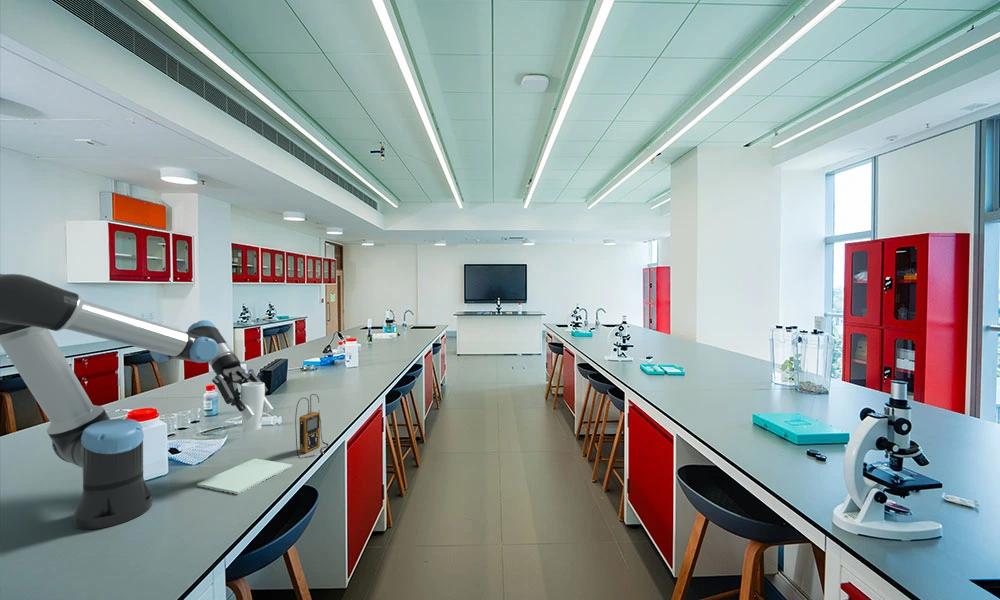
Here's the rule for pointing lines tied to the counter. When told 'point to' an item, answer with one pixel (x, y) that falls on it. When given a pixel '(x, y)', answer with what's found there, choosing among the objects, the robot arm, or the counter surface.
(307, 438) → the multimeter
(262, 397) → the white cup
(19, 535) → the counter surface
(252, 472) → the mat
